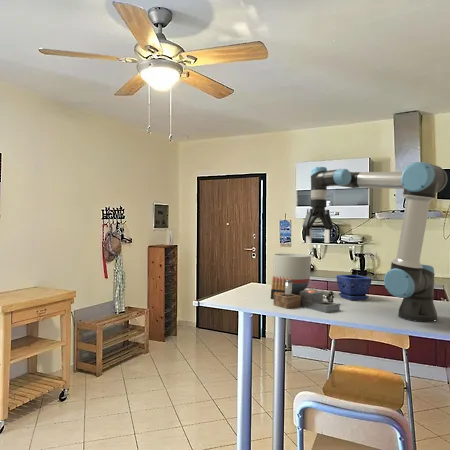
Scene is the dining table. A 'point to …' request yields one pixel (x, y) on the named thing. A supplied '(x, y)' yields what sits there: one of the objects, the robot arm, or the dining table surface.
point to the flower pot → (353, 286)
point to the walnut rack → (287, 301)
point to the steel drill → (288, 288)
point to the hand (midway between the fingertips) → (318, 243)
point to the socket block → (317, 302)
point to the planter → (293, 270)
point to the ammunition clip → (278, 286)
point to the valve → (329, 296)
